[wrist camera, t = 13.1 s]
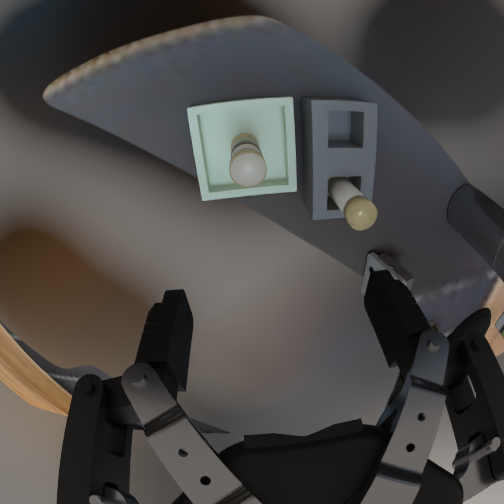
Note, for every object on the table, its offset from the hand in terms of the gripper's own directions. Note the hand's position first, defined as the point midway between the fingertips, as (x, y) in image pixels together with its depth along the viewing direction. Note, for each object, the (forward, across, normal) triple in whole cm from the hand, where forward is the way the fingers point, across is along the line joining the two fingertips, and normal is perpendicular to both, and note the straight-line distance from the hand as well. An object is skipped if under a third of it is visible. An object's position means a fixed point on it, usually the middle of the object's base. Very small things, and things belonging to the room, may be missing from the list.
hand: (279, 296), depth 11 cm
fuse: (+25, -11, +5) cm, 28 cm away
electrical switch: (+26, -21, +22) cm, 40 cm away
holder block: (+26, -10, +1) cm, 28 cm away
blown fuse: (+25, +1, 0) cm, 25 cm away
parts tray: (+26, +1, 0) cm, 26 cm away
